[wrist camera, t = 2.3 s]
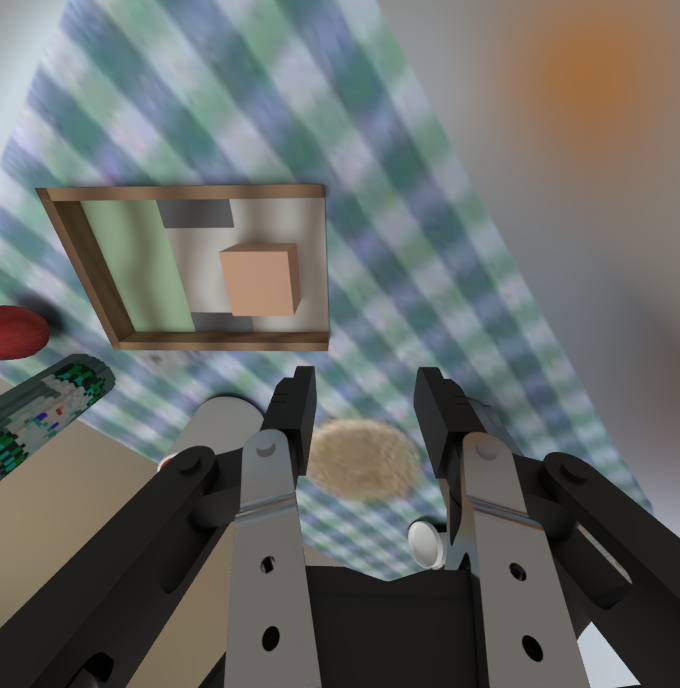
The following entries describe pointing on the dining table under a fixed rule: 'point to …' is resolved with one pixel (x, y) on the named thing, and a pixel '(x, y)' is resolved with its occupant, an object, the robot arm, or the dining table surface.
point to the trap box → (191, 262)
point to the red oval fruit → (21, 332)
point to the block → (262, 279)
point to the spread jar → (428, 545)
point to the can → (48, 405)
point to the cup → (218, 427)
